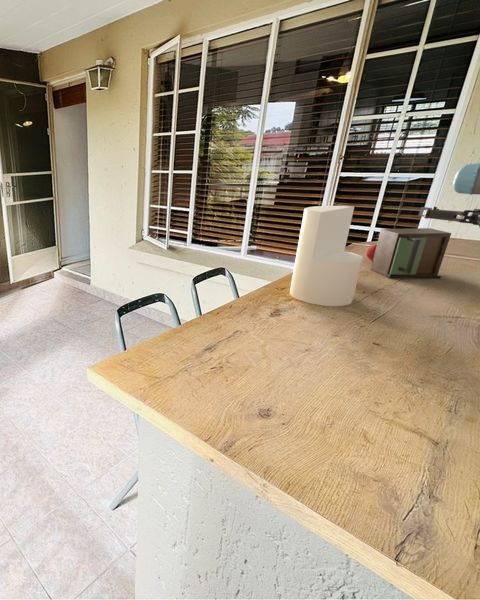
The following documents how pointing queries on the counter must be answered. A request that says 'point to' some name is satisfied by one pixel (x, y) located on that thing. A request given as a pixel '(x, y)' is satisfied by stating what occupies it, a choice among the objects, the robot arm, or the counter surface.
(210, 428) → the counter surface
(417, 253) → the door
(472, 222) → the robot arm
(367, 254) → the onion
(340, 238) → the cream stepped cylinder
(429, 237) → the cabinet
